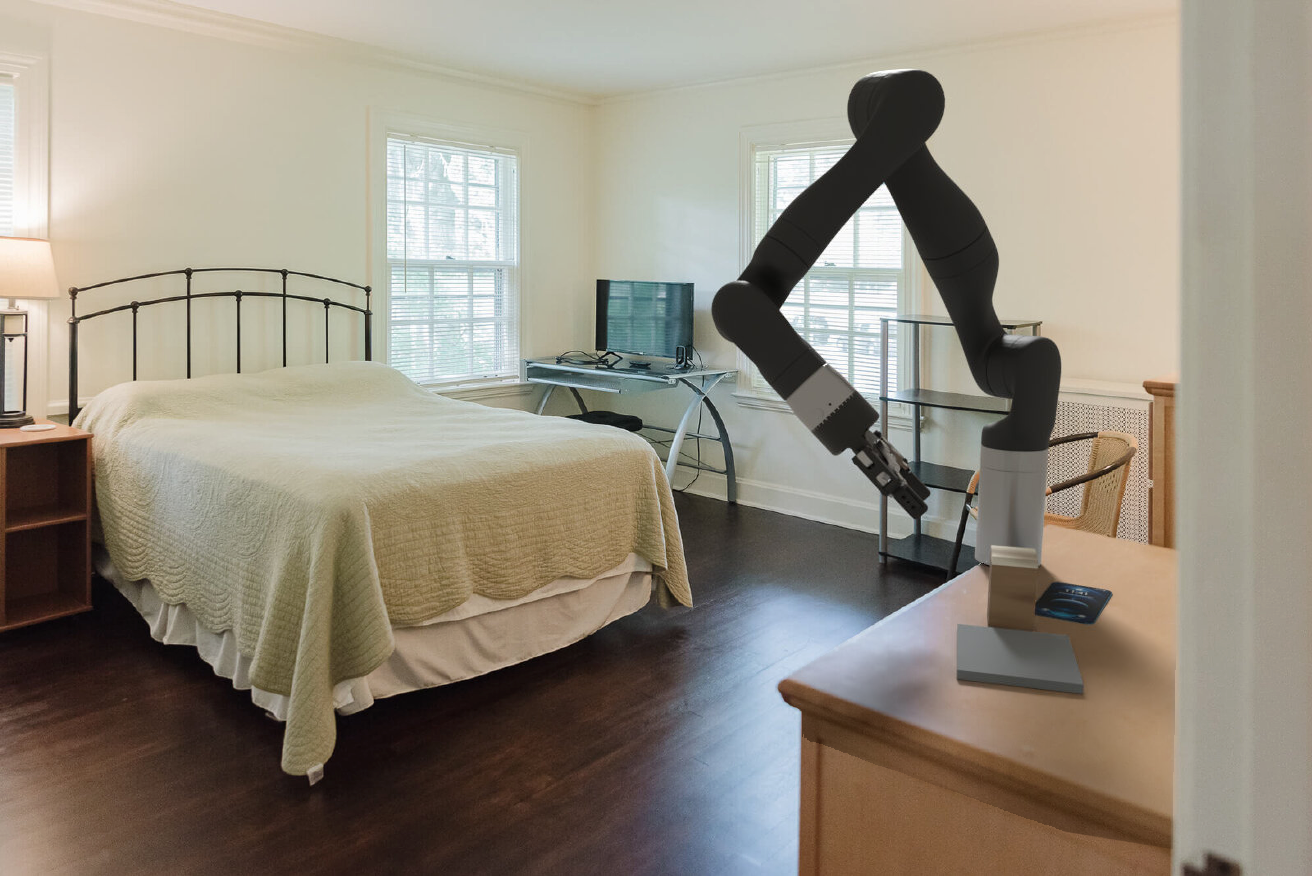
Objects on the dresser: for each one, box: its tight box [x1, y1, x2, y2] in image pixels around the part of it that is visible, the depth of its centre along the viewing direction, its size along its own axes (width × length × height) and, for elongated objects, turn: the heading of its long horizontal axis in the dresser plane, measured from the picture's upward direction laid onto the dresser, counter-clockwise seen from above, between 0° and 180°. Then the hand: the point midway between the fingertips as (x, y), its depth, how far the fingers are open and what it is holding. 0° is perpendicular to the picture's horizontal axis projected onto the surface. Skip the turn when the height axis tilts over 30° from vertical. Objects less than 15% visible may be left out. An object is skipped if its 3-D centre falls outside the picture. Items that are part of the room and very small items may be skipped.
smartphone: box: [1035, 581, 1113, 626], centre depth 120 cm, size 8×1×15 cm
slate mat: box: [956, 623, 1084, 695], centre depth 101 cm, size 14×12×1 cm
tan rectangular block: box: [986, 545, 1039, 632], centre depth 112 cm, size 5×5×9 cm
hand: (924, 506), depth 113 cm, fingers open, 8 cm apart
